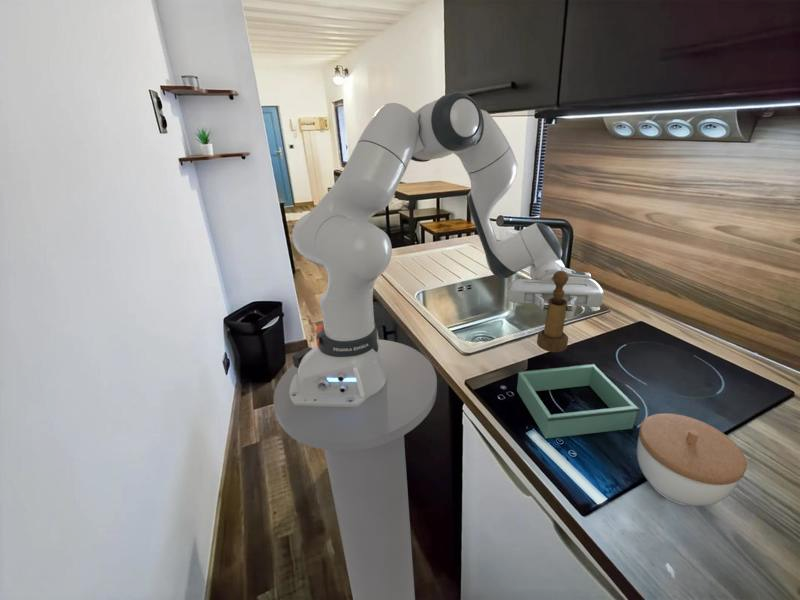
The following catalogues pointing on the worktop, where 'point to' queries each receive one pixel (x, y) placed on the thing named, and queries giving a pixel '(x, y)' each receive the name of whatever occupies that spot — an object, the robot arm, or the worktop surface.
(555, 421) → the green square frame
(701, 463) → the lidded bowl
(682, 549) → the worktop surface
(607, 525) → the worktop surface
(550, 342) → the mortar and pestle
